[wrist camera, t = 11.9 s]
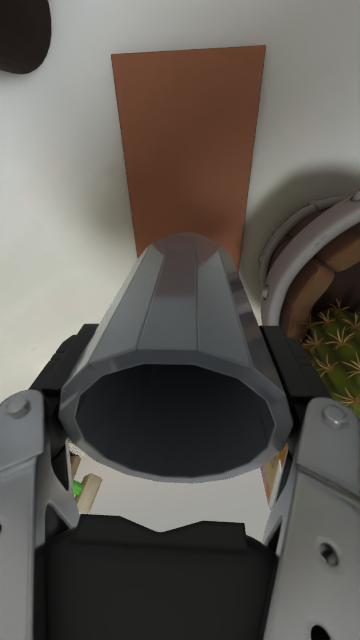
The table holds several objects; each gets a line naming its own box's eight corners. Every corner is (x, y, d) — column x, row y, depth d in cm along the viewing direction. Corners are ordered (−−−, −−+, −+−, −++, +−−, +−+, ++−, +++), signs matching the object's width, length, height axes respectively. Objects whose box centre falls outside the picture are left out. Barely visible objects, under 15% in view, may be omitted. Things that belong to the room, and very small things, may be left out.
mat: (112, 57, 17) (110, 53, 16) (264, 48, 16) (266, 44, 16) (141, 283, 27) (140, 285, 27) (235, 283, 26) (236, 285, 26)
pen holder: (126, 232, 13) (17, 346, 5) (242, 231, 13) (326, 351, 5) (140, 325, 17) (90, 479, 9) (231, 326, 17) (267, 487, 8)
